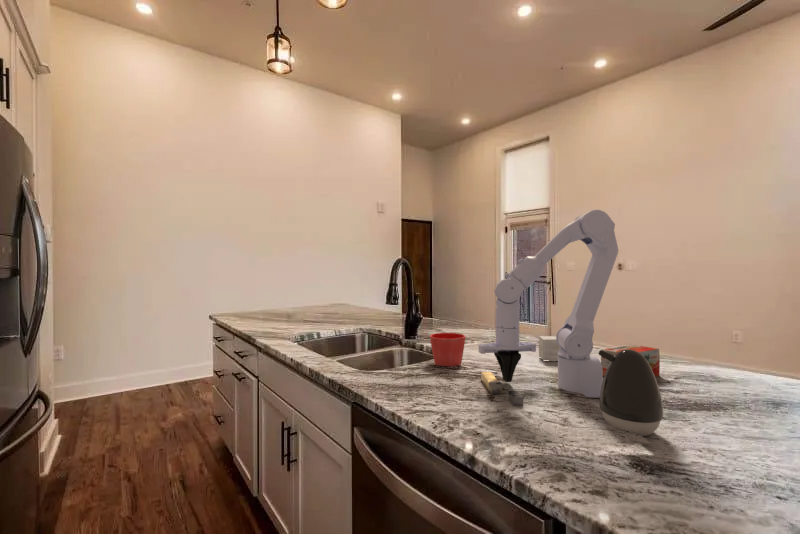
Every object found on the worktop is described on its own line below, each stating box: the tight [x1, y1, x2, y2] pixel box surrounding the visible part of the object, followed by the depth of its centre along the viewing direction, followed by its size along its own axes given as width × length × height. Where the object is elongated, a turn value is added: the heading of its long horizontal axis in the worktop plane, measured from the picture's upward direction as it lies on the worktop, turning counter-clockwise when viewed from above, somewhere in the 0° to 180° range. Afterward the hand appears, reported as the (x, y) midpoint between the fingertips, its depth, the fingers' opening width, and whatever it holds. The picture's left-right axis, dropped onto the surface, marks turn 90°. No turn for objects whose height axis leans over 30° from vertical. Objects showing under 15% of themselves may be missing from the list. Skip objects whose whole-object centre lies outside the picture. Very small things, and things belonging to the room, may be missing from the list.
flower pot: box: [429, 332, 466, 367], centre depth 116 cm, size 11×11×10 cm
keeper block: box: [507, 390, 524, 407], centre depth 81 cm, size 2×4×2 cm, turn 179°
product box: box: [538, 335, 561, 361], centre depth 125 cm, size 6×6×7 cm
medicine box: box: [600, 343, 661, 378], centre depth 106 cm, size 15×8×8 cm, turn 119°
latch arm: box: [480, 371, 503, 396], centre depth 92 cm, size 12×3×2 cm, turn 179°
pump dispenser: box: [598, 349, 664, 437], centre depth 71 cm, size 10×10×15 cm
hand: (507, 380), depth 95 cm, fingers closed
